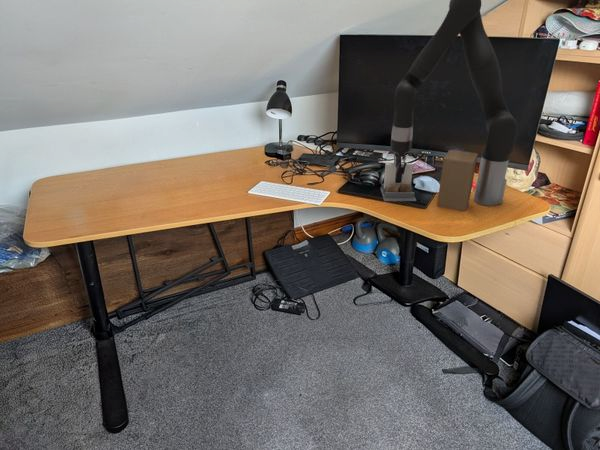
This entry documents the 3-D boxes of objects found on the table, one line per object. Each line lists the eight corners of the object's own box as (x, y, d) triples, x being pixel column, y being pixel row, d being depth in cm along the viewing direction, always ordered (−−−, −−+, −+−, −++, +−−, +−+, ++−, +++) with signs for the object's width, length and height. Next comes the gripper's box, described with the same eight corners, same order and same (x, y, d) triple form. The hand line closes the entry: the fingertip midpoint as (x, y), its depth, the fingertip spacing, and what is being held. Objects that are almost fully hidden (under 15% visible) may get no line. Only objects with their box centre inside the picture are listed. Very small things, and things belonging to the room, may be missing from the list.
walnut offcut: (409, 194, 175) (410, 184, 173) (410, 196, 173) (411, 186, 171) (399, 194, 175) (400, 184, 173) (400, 196, 173) (400, 186, 171)
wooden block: (468, 203, 170) (478, 152, 160) (464, 215, 162) (474, 162, 153) (441, 199, 174) (449, 149, 164) (436, 209, 166) (443, 157, 157)
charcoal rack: (410, 191, 181) (411, 183, 179) (416, 204, 170) (417, 195, 169) (379, 191, 181) (380, 183, 180) (383, 204, 171) (384, 196, 169)
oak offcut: (396, 194, 175) (397, 184, 173) (397, 196, 173) (398, 186, 171) (386, 194, 175) (386, 184, 173) (386, 196, 173) (387, 186, 172)
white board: (409, 189, 178) (412, 162, 173) (410, 191, 177) (413, 164, 171) (383, 189, 179) (385, 163, 173) (384, 191, 177) (386, 165, 172)
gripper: (415, 143, 161) (410, 188, 170) (408, 131, 173) (404, 174, 182) (394, 143, 161) (390, 188, 170) (388, 132, 174) (385, 174, 182)
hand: (397, 180), depth 176 cm, fingers closed on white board, 2 cm apart
